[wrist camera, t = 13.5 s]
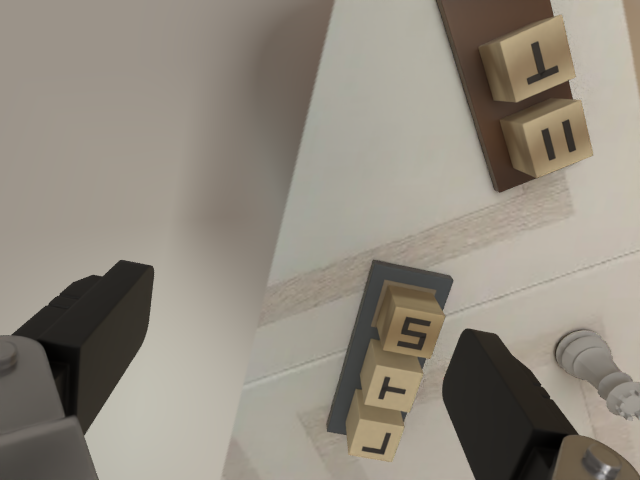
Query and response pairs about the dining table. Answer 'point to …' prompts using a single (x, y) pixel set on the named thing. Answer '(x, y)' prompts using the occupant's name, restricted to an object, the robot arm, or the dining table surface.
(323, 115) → the dining table surface
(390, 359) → the far word rack
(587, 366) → the rook chess piece
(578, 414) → the dining table surface
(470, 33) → the near word rack
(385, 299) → the letter S
